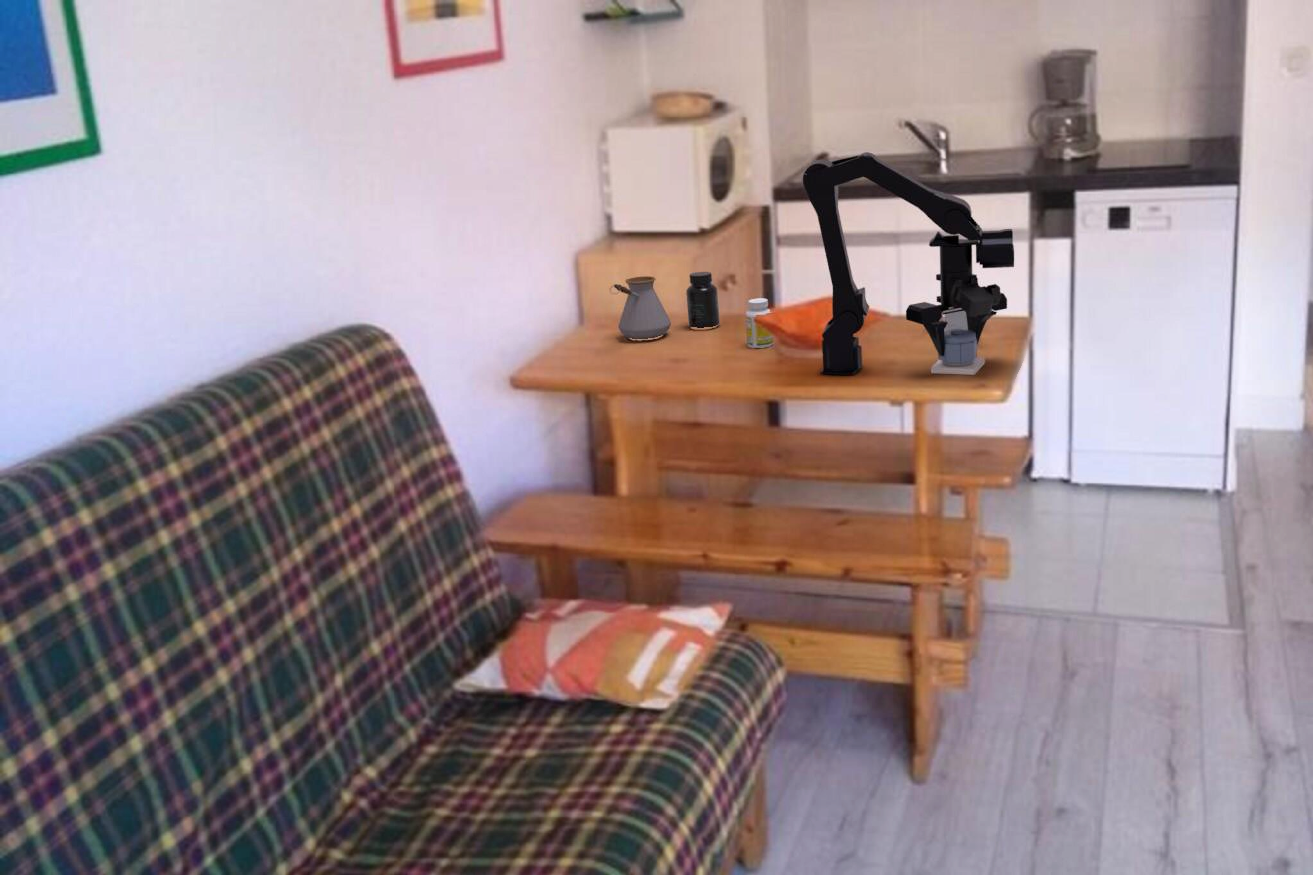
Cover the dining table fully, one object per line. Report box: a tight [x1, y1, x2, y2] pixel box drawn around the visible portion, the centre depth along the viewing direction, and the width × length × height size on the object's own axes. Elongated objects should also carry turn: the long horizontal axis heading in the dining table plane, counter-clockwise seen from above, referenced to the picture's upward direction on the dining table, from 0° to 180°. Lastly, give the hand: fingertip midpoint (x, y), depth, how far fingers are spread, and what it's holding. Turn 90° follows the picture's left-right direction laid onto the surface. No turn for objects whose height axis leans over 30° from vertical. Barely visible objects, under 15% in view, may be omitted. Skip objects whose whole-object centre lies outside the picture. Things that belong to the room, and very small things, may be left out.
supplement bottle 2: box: [745, 298, 774, 349], centre depth 282 cm, size 5×5×10 cm
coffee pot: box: [609, 275, 672, 339], centre depth 293 cm, size 21×12×15 cm, turn 160°
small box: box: [944, 307, 968, 331], centre depth 269 cm, size 8×6×10 cm
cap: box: [937, 329, 978, 363], centre depth 253 cm, size 7×7×5 cm
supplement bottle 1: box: [685, 271, 721, 328], centre depth 302 cm, size 7×7×12 cm
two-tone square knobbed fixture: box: [930, 357, 986, 376], centre depth 254 cm, size 8×8×5 cm
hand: (957, 352), depth 254 cm, fingers closed on cap, 7 cm apart
